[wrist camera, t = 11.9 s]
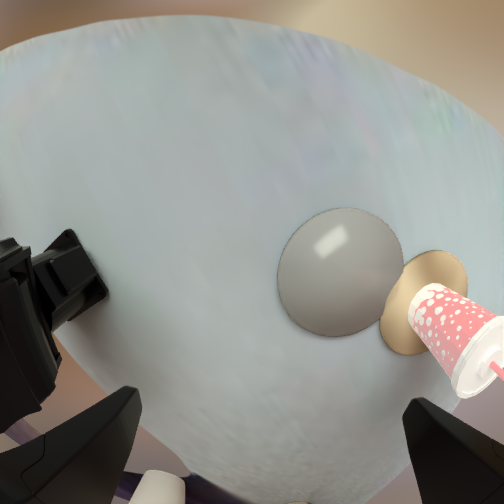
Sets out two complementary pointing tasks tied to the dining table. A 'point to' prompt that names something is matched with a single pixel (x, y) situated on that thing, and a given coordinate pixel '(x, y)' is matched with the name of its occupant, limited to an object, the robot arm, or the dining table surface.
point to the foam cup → (159, 489)
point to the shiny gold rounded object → (407, 286)
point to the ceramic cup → (299, 503)
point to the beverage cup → (459, 337)
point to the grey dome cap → (339, 271)
